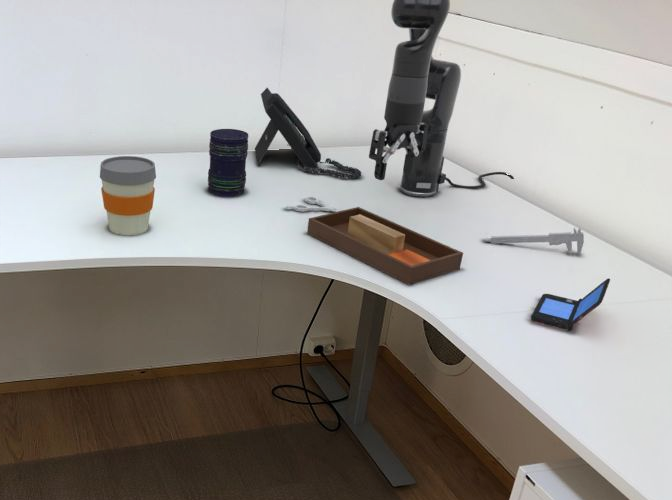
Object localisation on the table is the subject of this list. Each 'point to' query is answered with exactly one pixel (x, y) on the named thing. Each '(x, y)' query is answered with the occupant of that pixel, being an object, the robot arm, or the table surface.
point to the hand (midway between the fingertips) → (393, 176)
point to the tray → (335, 234)
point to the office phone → (294, 137)
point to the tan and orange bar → (382, 239)
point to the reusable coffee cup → (128, 193)
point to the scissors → (306, 208)
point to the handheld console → (567, 308)
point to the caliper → (544, 239)
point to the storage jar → (227, 162)
